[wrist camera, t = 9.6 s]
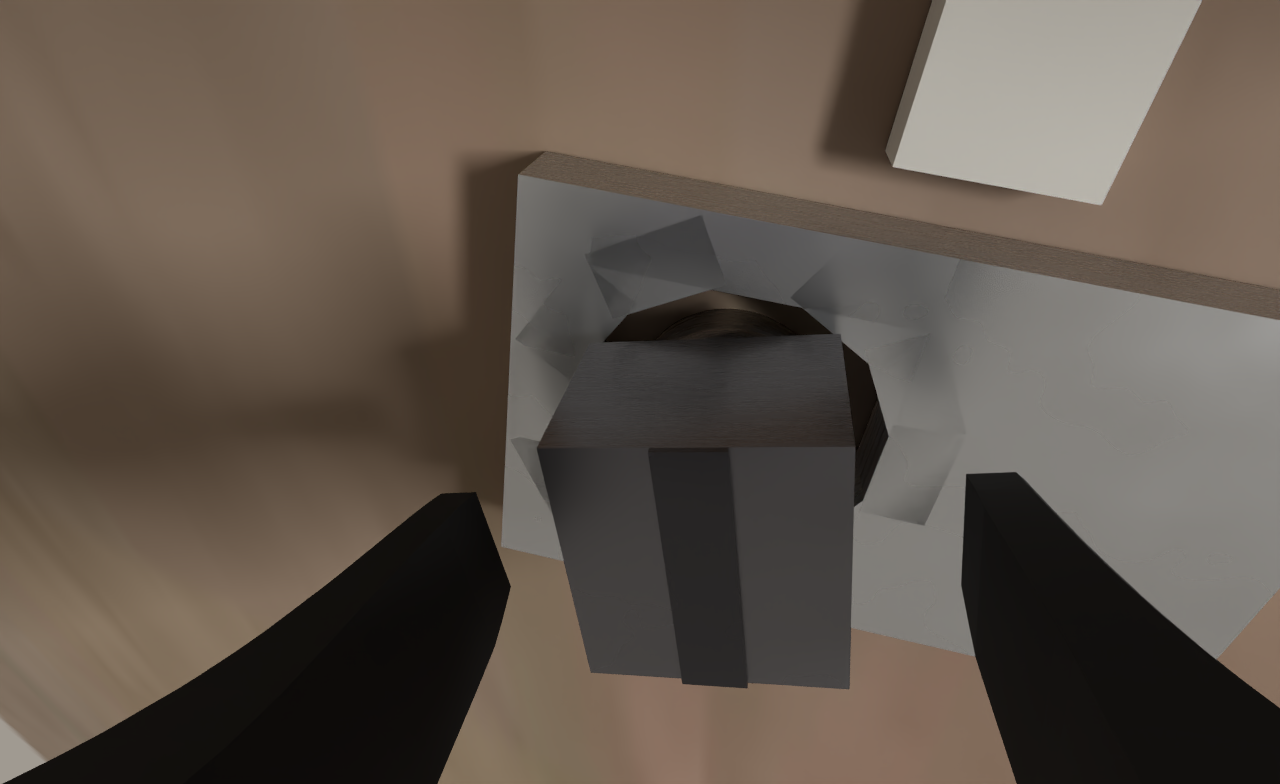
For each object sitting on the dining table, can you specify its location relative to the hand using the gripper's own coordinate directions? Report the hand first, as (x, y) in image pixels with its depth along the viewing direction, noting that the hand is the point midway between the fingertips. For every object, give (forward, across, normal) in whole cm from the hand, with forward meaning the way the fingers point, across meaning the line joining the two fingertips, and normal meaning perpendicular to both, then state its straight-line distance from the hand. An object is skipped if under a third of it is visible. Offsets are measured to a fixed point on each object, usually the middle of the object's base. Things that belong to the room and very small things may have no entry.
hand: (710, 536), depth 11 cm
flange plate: (+4, -3, +1) cm, 5 cm away
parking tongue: (+4, -5, -6) cm, 9 cm away
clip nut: (+4, 0, 0) cm, 4 cm away
